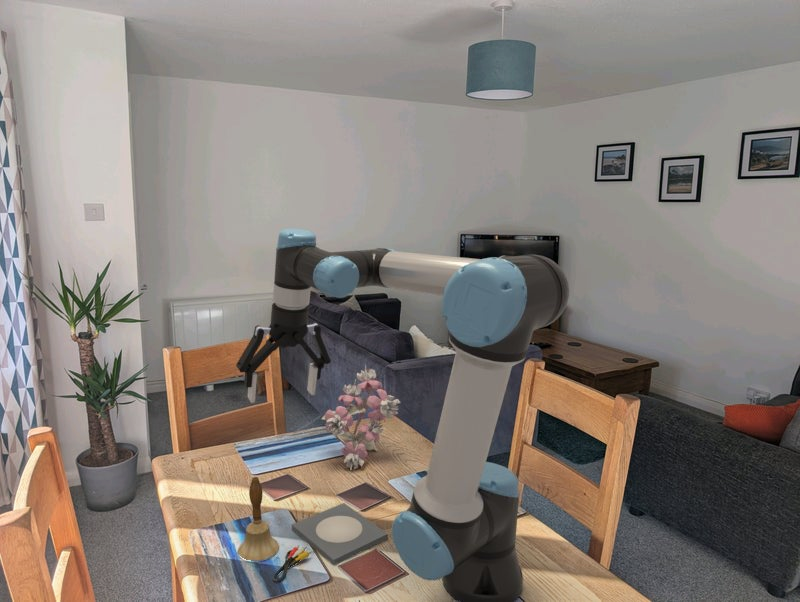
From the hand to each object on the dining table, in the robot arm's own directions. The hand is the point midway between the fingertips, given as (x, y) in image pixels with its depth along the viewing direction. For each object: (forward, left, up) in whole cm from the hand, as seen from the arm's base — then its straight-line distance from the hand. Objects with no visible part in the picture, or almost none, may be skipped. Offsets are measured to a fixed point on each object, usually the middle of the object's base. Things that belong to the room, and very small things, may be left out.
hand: (281, 396), depth 124 cm
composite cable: (-16, +8, -29) cm, 34 cm away
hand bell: (-7, +10, -29) cm, 32 cm away
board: (-13, -6, -29) cm, 32 cm away
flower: (+13, -31, -29) cm, 44 cm away
